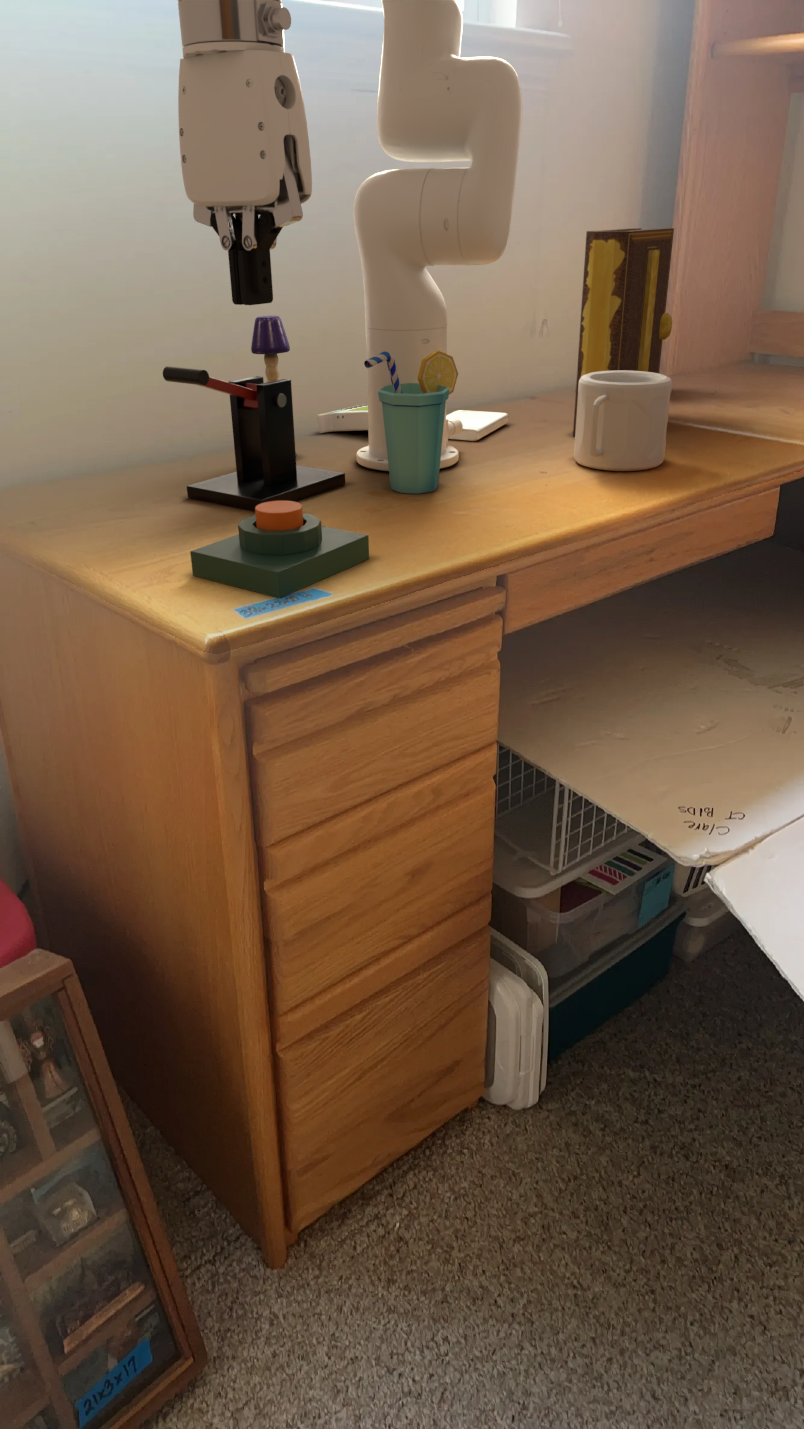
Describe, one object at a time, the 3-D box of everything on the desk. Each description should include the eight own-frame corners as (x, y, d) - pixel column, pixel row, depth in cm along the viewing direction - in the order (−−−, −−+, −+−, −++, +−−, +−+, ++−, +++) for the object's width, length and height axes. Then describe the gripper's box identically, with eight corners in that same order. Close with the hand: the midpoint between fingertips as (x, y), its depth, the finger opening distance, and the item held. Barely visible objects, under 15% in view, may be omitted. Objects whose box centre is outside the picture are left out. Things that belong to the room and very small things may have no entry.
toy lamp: (253, 460, 123) (241, 317, 116) (271, 452, 127) (260, 313, 119) (286, 463, 122) (277, 318, 114) (304, 455, 125) (295, 314, 118)
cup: (399, 508, 102) (397, 356, 96) (342, 497, 107) (336, 351, 100) (473, 481, 112) (476, 341, 105) (418, 472, 116) (418, 337, 110)
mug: (596, 448, 126) (602, 367, 122) (676, 458, 121) (686, 373, 116) (547, 470, 117) (552, 382, 112) (633, 481, 111) (641, 389, 107)
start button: (278, 517, 87) (276, 497, 86) (312, 524, 85) (311, 504, 84) (246, 528, 84) (245, 508, 83) (282, 535, 82) (280, 515, 81)
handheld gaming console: (400, 409, 128) (315, 412, 137) (403, 431, 129) (318, 433, 138) (449, 397, 136) (365, 401, 145) (451, 418, 137) (368, 421, 146)
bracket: (262, 512, 102) (252, 394, 96) (187, 497, 107) (174, 385, 102) (345, 484, 112) (341, 375, 106) (273, 471, 118) (266, 368, 112)
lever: (196, 388, 94) (200, 362, 94) (160, 384, 97) (164, 359, 96) (285, 414, 105) (288, 391, 105) (251, 409, 108) (254, 387, 107)
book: (621, 441, 130) (639, 231, 119) (560, 435, 134) (572, 231, 123) (667, 413, 147) (687, 227, 136) (612, 409, 151) (627, 227, 140)
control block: (285, 540, 93) (282, 498, 91) (369, 558, 88) (368, 514, 86) (192, 575, 84) (187, 530, 83) (280, 598, 79) (276, 550, 77)
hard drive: (455, 409, 144) (421, 424, 134) (508, 412, 141) (478, 428, 131) (455, 421, 145) (421, 436, 135) (508, 424, 142) (477, 441, 132)
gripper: (344, 29, 71) (353, 303, 80) (197, 49, 79) (220, 297, 87) (274, 15, 66) (292, 311, 74) (124, 38, 73) (156, 303, 82)
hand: (253, 302), depth 81 cm, fingers closed
